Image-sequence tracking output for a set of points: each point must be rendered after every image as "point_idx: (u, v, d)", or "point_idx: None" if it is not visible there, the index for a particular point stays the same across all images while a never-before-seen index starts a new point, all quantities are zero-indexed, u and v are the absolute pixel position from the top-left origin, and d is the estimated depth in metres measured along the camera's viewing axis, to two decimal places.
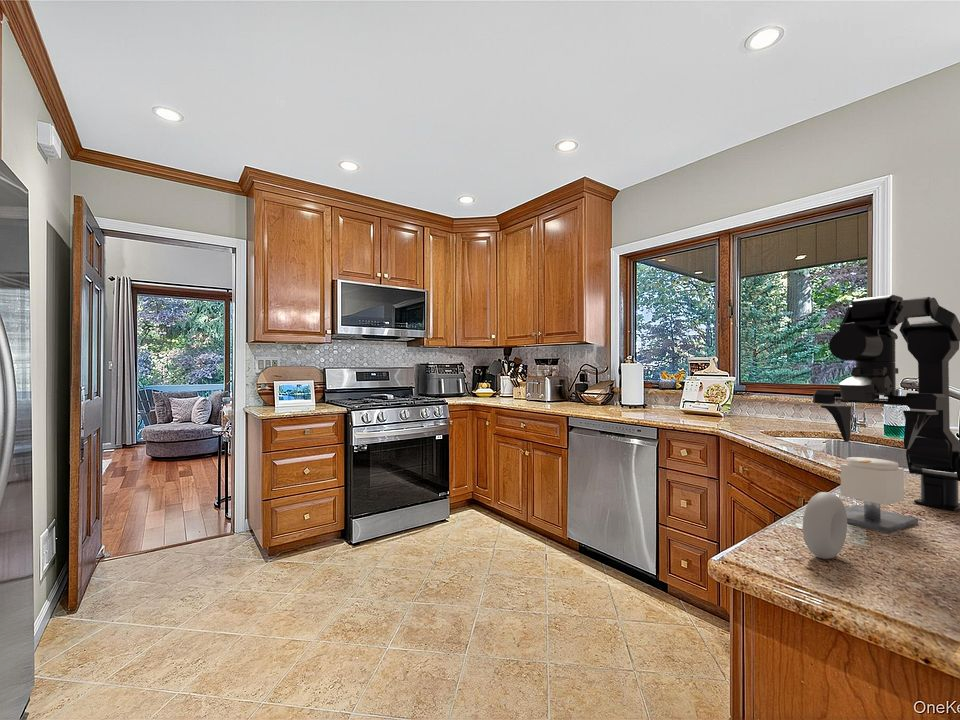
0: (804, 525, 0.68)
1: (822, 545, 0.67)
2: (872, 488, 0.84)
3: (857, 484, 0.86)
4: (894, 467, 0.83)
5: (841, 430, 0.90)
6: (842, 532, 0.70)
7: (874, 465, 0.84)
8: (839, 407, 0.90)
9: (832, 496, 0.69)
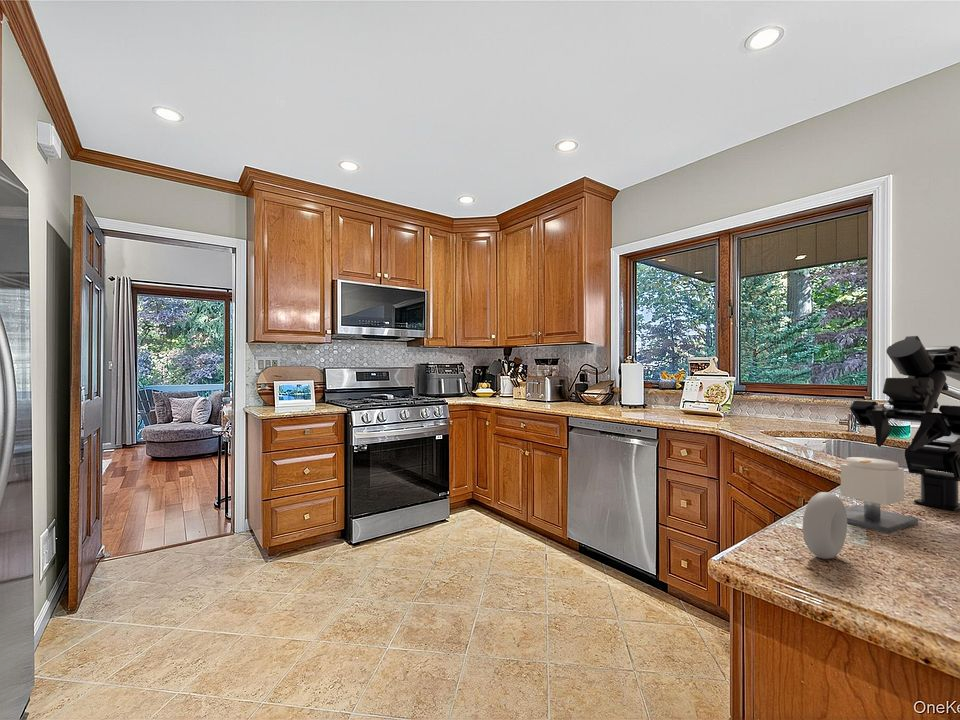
0: (804, 525, 0.68)
1: (822, 545, 0.67)
2: (872, 488, 0.84)
3: (857, 484, 0.86)
4: (894, 467, 0.83)
5: (877, 433, 0.94)
6: (842, 532, 0.70)
7: (874, 465, 0.84)
8: (883, 415, 0.96)
9: (832, 496, 0.69)
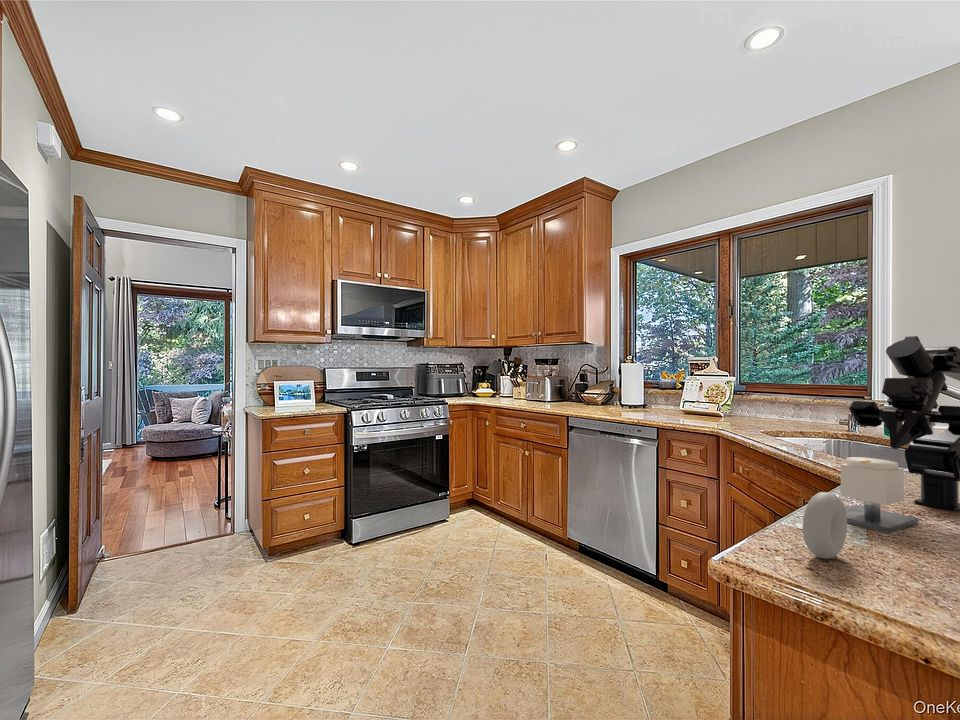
0: (804, 525, 0.68)
1: (822, 546, 0.67)
2: (872, 488, 0.84)
3: (857, 484, 0.86)
4: (894, 467, 0.83)
5: (891, 435, 0.92)
6: (842, 532, 0.70)
7: (874, 465, 0.84)
8: (898, 417, 0.93)
9: (832, 496, 0.69)
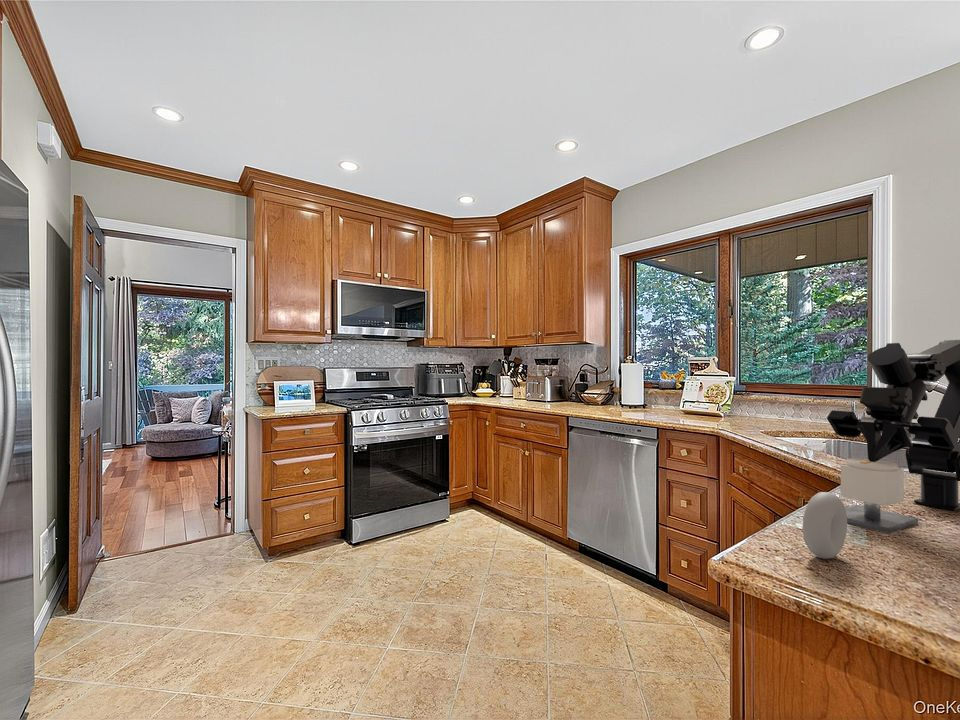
0: (804, 525, 0.68)
1: (822, 545, 0.67)
2: (872, 489, 0.84)
3: (857, 484, 0.86)
4: (894, 468, 0.83)
5: (869, 447, 0.88)
6: (842, 532, 0.70)
7: (874, 466, 0.84)
8: (876, 428, 0.89)
9: (832, 496, 0.69)
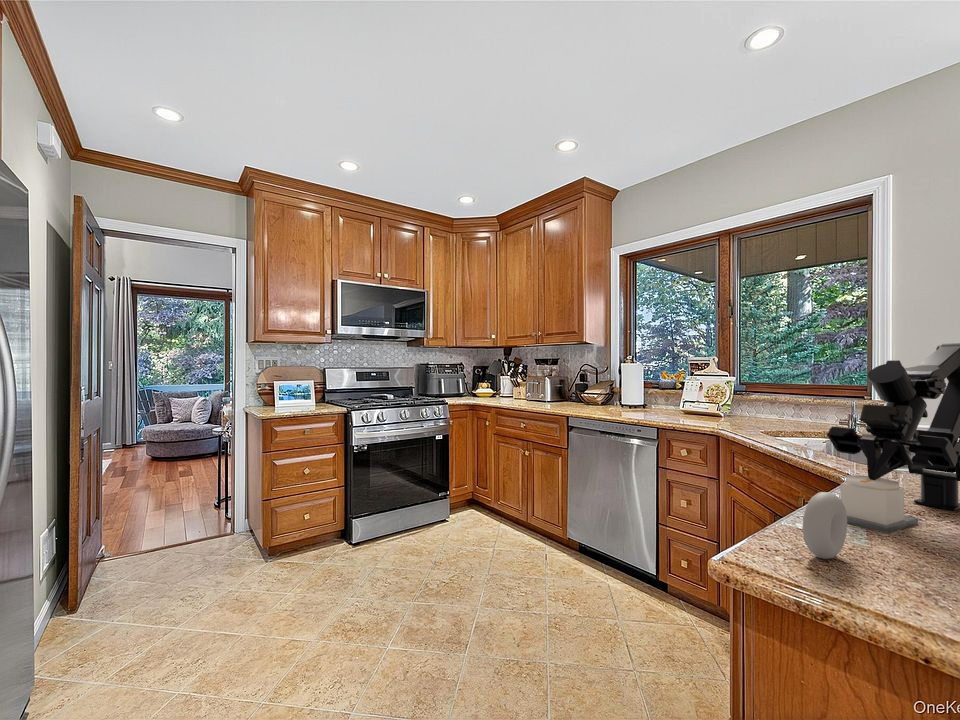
0: (804, 525, 0.68)
1: (822, 545, 0.67)
2: (872, 508, 0.84)
3: (857, 503, 0.86)
4: (894, 487, 0.83)
5: (869, 465, 0.88)
6: (842, 532, 0.70)
7: (874, 485, 0.83)
8: (876, 445, 0.89)
9: (832, 496, 0.69)
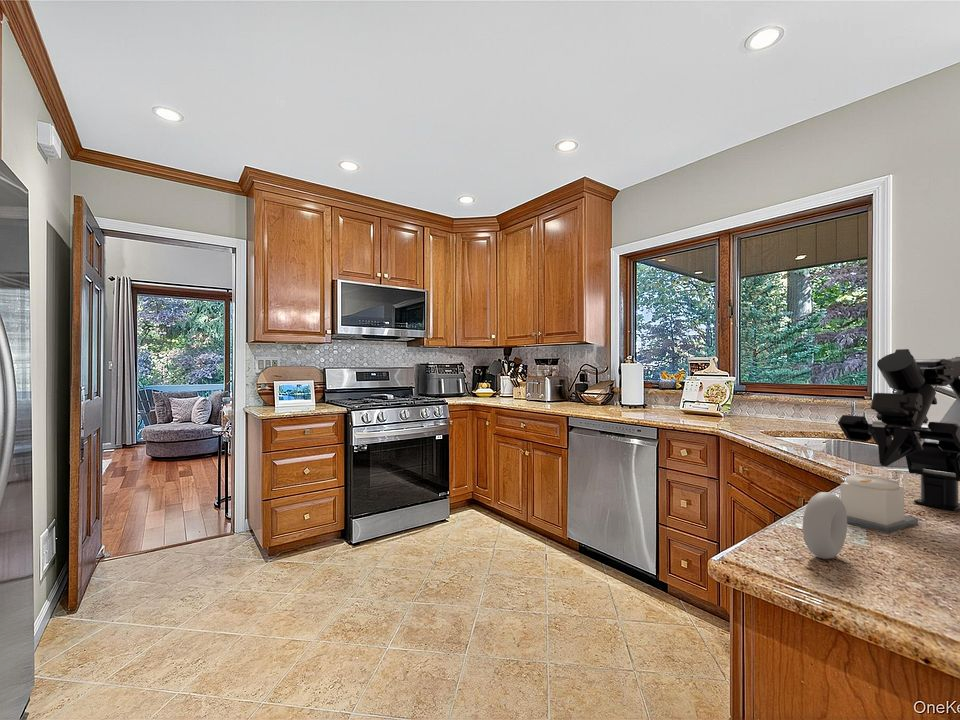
0: (804, 525, 0.68)
1: (822, 546, 0.67)
2: (872, 508, 0.84)
3: (857, 503, 0.86)
4: (894, 487, 0.83)
5: (880, 452, 0.90)
6: (842, 532, 0.70)
7: (874, 485, 0.83)
8: (887, 432, 0.91)
9: (832, 496, 0.69)
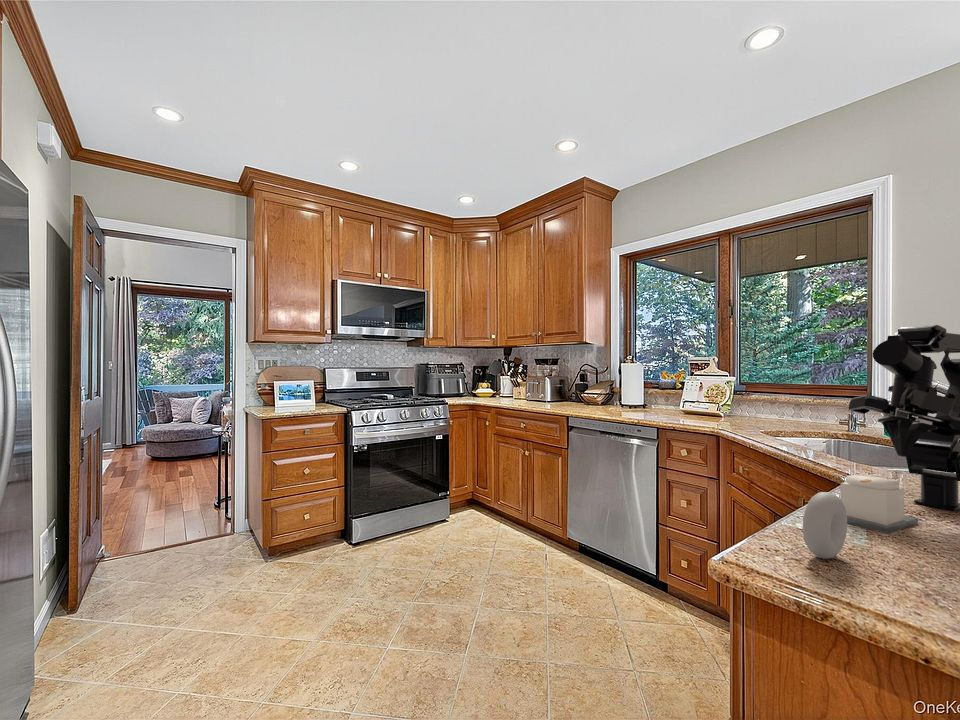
0: (804, 525, 0.68)
1: (822, 545, 0.67)
2: (872, 508, 0.84)
3: (857, 503, 0.86)
4: (894, 487, 0.83)
5: (903, 444, 0.91)
6: (842, 532, 0.70)
7: (874, 485, 0.83)
8: None
9: (832, 496, 0.69)
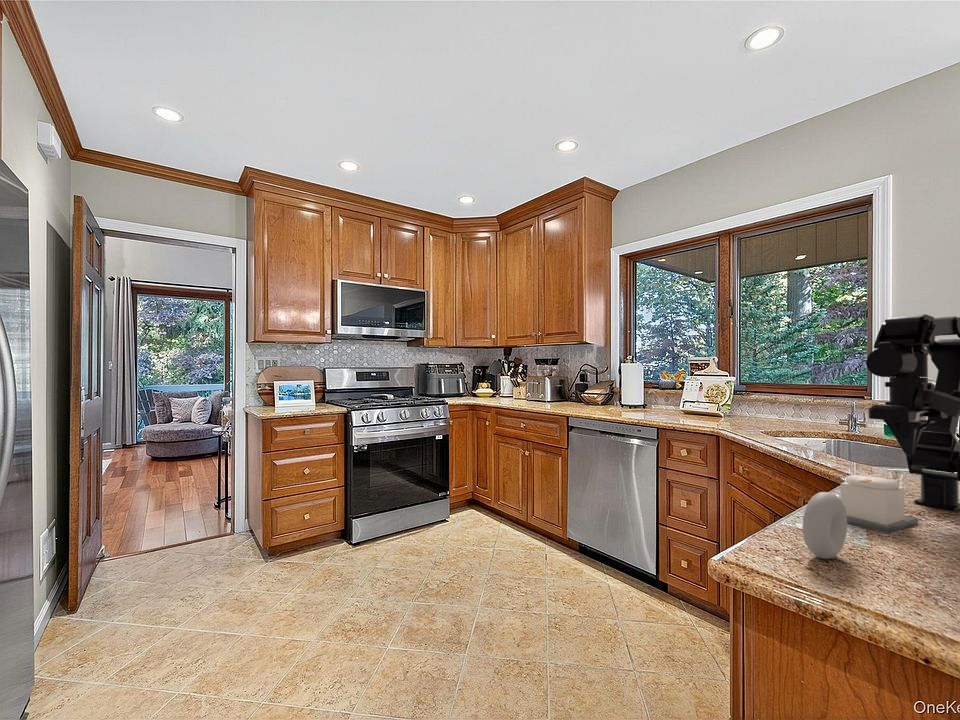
0: (804, 525, 0.68)
1: (822, 545, 0.67)
2: (872, 508, 0.84)
3: (857, 503, 0.86)
4: (894, 487, 0.83)
5: (913, 444, 0.91)
6: (842, 532, 0.70)
7: (874, 485, 0.83)
8: None
9: (832, 496, 0.69)
